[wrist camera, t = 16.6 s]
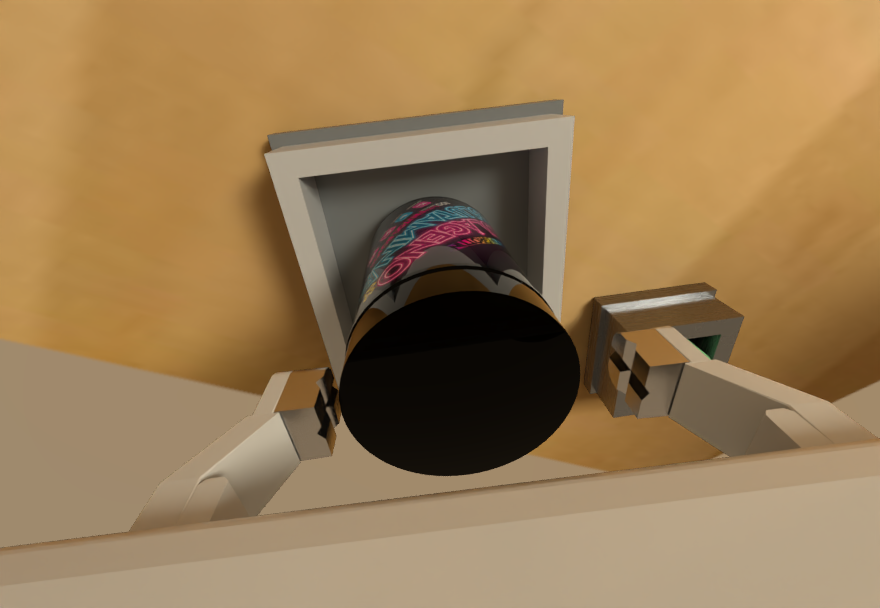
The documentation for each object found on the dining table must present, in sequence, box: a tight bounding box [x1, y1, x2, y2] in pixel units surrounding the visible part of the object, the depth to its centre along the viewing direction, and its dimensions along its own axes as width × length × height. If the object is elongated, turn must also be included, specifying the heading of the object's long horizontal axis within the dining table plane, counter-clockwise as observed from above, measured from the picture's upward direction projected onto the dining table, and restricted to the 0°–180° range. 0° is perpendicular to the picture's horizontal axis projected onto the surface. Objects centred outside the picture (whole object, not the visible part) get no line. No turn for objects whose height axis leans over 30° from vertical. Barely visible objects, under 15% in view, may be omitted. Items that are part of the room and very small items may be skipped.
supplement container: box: [339, 196, 580, 476], centre depth 15 cm, size 7×7×10 cm
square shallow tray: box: [264, 100, 575, 388], centre depth 19 cm, size 13×13×4 cm
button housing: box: [584, 283, 744, 418], centre depth 23 cm, size 7×7×4 cm
